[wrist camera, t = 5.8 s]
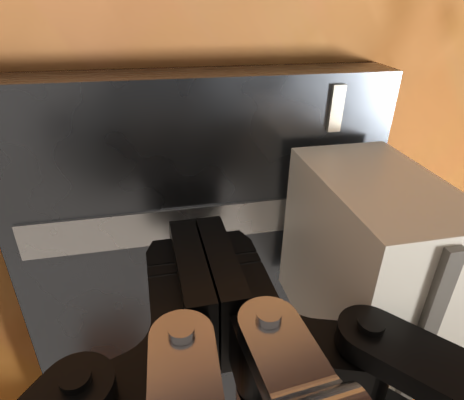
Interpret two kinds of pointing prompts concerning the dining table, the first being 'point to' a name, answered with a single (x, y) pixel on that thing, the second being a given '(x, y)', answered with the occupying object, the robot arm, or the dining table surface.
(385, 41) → the dining table surface
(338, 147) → the block
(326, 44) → the dining table surface
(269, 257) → the console board
